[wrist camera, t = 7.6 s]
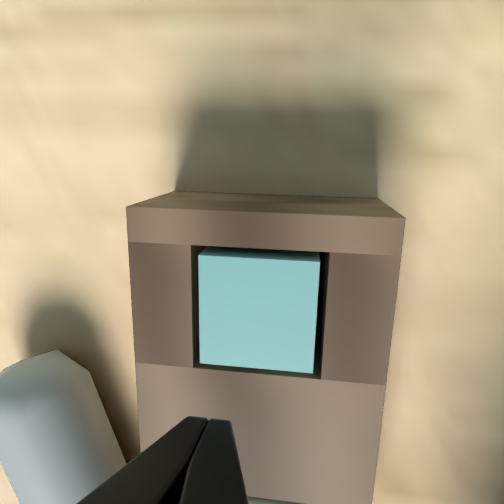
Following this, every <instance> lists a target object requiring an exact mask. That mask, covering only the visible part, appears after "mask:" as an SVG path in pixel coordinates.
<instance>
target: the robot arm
mask: <svg viewBox="0 0 504 504" xmlns="http://www.w3.org/2000/svg"><path fill="white" fill-rule="evenodd" d="M76 504H249V502H248V497H247V493H246V488H245V484H244V479H243V474H242V470H241V465H240V460H239V456H238V451H237V446H236V442H235V437H234V432H233V428H232V423H231V421H230V420H225V419H216V418H212V419H210V420H208V419H207V418H206V417H197V416H188V417H186V418H184V419H183V420H182V421H181V422H179V423H178V424H177V425H175V426H174V427H173V428H172V429H170V430H169V431H168V432H167V433H165V434H164V435H163V436H162V437H160V438H159V439H158V440H156V441H155V442H154V443H153V444H151V445H150V446H149V447H148V448H146V449H145V450H144V451H142V452H141V453H140V454H139V455H137V456H136V457H135V458H134V459H132V460H131V461H130V462H129V463H127V464H126V465H125V466H123V467H122V468H121V469H120V470H118V471H117V472H116V473H115V474H113V475H112V476H111V477H109V478H108V479H107V480H106V481H104V482H103V483H102V484H101V485H99V486H98V487H97V488H95V489H94V490H93V491H92V492H90V493H89V494H88V495H87V496H85V497H84V498H83V499H82V500H80V501H79V502H78V503H76Z"/></svg>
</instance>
